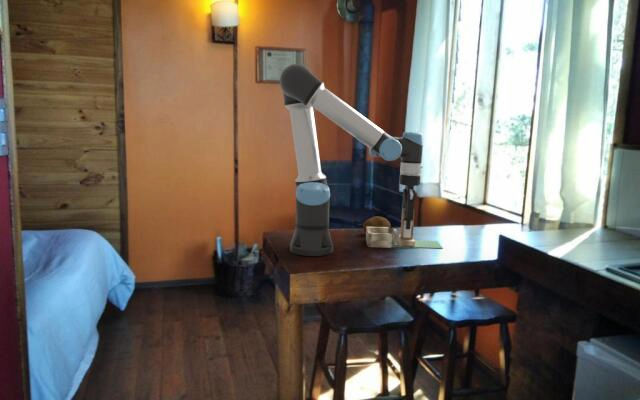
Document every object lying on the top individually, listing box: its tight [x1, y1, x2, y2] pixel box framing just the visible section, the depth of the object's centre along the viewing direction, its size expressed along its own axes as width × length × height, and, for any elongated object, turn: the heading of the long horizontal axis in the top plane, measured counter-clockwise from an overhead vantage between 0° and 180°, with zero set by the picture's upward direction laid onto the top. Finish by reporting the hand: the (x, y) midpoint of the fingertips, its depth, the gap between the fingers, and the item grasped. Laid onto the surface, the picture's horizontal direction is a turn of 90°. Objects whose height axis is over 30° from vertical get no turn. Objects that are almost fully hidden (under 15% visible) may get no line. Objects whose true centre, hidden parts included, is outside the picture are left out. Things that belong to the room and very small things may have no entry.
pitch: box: [391, 239, 444, 250], centre depth 195 cm, size 26×10×1 cm, turn 89°
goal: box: [365, 227, 393, 249], centre depth 195 cm, size 9×12×5 cm
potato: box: [362, 215, 391, 234], centre depth 208 cm, size 8×12×8 cm, turn 122°
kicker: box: [392, 208, 416, 246], centre depth 194 cm, size 7×10×13 cm
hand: (406, 235), depth 195 cm, fingers closed on kicker, 4 cm apart
